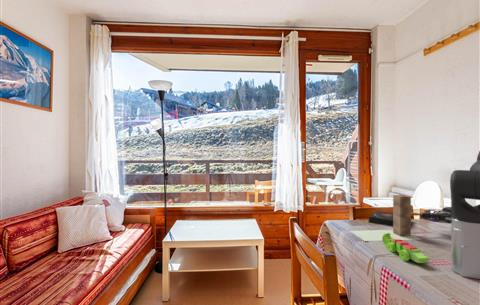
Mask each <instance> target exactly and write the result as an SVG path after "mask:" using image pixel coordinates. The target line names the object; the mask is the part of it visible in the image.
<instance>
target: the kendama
mask: <svg viewBox="0 0 480 305" xmlns="http://www.w3.org/2000/svg"><path fill="white" fill-rule="evenodd" d="M430 210H431V211H436V210H435V209H430ZM426 211H427V210H426ZM426 211H423V212H420V213H426ZM420 213H418V212H412V211H411V217H412V216H420ZM427 219H428V220H430V221H433V222H437V221H439V220H434V219H430V218H425V220H427Z"/></svg>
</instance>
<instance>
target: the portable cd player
mask: <svg viewBox="0 0 480 305" xmlns="http://www.w3.org/2000/svg"><path fill="white" fill-rule="evenodd" d="M368 223H369V224H376V225H382V226H389V227H393V212H386V211H379V210H378V211H376V212H374V213H373V214H371V215H370V216H369V217H368Z"/></svg>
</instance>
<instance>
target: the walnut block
mask: <svg viewBox="0 0 480 305" xmlns="http://www.w3.org/2000/svg"><path fill="white" fill-rule="evenodd" d="M392 198H393V199H392V207H393V208H392V213H393V226H392V230H393V233H394V234H396V235H398V236H411V234H412V233H411V232H412V229H411V228H412V216H411V212H412V210H411V209H412V208H411V207H412V197H411V196H409V195H406V194H393V195H392Z"/></svg>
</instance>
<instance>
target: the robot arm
mask: <svg viewBox="0 0 480 305" xmlns="http://www.w3.org/2000/svg"><path fill="white" fill-rule="evenodd" d="M449 179H450V180H449V184H450V186H449V188H450V189H449V190H450V200H451V201H450V206H444V207H443V208H442V209H439V210H435V211H431V210H432V209H427V210H426V213H422V212H420V215H419V218H421V219H426V218H427V219H429V218H430V219H434V220H438V221H444V222H445V223H446V224H451V230H450V231H451V233H450V234H451V239H450V241H451V242H450V243H451V249H450V250H451V253H450V254H451V258H450V260H451V262H450V263H451V265H450V266H451V270H452V271H453V272H454V273H456V274H458V275H460V276H462V277H464V278H471V279H478V280H480V204H477V205H472V204H471V203H469V202H467V201H466V200H474V201H475V200H476V201H480V150H479V151H478V154H477V156H476V161H475V162H474V163H472V165H471V166H470V168H469V170H468V169H466V170H465V169H456V170H453V171H452V173H451V174H450V178H449ZM430 219H429V220H430Z"/></svg>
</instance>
